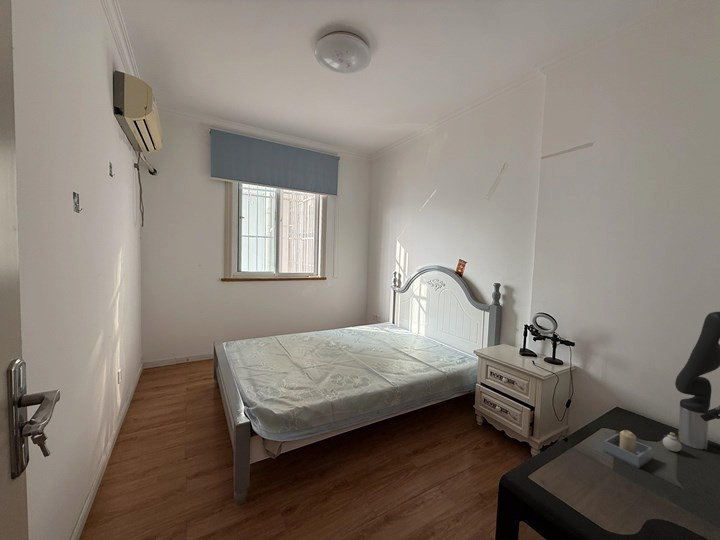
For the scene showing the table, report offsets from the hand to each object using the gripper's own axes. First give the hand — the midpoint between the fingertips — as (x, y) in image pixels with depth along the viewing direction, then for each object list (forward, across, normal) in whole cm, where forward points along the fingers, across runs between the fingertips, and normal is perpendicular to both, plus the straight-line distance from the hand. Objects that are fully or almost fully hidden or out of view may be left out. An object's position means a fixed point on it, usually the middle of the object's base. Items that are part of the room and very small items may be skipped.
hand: (706, 416), depth 113 cm
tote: (+36, +2, +4) cm, 37 cm away
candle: (+36, +2, +4) cm, 36 cm away
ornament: (+31, -22, +10) cm, 39 cm away
